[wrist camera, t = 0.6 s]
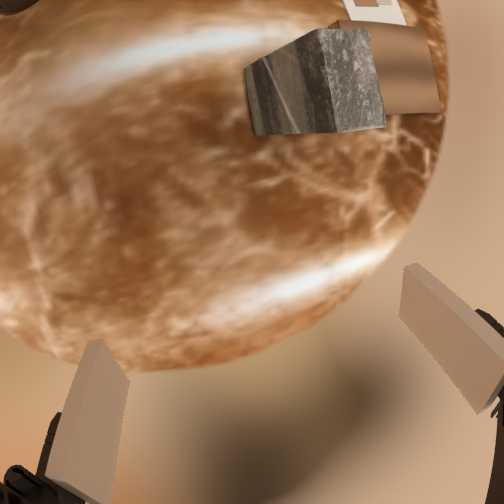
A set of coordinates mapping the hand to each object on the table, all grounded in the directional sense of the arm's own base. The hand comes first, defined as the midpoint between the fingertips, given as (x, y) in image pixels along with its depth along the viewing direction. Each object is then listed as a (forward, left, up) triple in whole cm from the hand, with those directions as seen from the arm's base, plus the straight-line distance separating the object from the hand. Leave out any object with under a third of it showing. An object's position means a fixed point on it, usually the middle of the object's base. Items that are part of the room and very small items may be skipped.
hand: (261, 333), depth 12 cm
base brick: (-12, +23, -24) cm, 35 cm away
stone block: (-10, +9, -24) cm, 28 cm away
